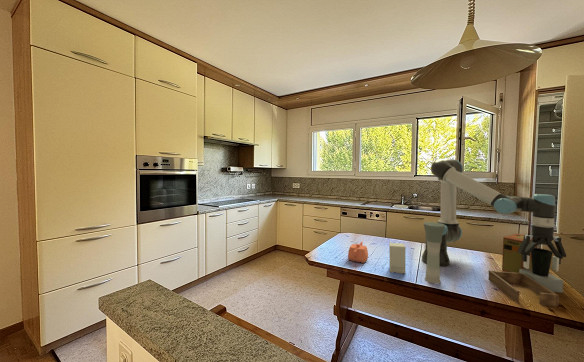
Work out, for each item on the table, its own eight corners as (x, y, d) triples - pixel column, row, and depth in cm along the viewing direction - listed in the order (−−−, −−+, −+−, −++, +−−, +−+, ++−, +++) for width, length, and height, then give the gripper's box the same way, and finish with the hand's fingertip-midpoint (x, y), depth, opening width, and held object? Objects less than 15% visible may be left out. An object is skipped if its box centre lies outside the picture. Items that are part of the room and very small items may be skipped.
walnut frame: (516, 302, 105) (516, 291, 105) (488, 279, 127) (488, 270, 126) (558, 306, 102) (559, 295, 102) (522, 282, 123) (522, 273, 123)
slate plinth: (534, 290, 116) (535, 277, 115) (518, 279, 126) (519, 268, 126) (562, 292, 113) (563, 280, 113) (544, 282, 124) (545, 270, 123)
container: (436, 286, 119) (438, 227, 118) (418, 278, 128) (419, 223, 126) (447, 282, 124) (449, 224, 122) (429, 275, 132) (430, 221, 131)
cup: (538, 270, 124) (539, 247, 123) (556, 277, 116) (557, 252, 116) (525, 271, 123) (526, 247, 123) (541, 277, 115) (542, 252, 115)
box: (522, 278, 128) (524, 241, 127) (501, 271, 136) (503, 237, 135) (535, 271, 136) (537, 237, 135) (515, 266, 144) (516, 233, 143)
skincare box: (404, 269, 139) (404, 243, 138) (405, 274, 133) (406, 247, 132) (388, 267, 142) (389, 242, 141) (389, 272, 136) (389, 245, 135)
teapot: (345, 262, 150) (345, 246, 150) (353, 253, 166) (353, 239, 165) (363, 266, 144) (363, 249, 144) (370, 256, 160) (370, 241, 159)
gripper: (519, 226, 117) (517, 269, 118) (579, 228, 112) (577, 274, 113) (509, 222, 125) (507, 263, 126) (565, 225, 119) (563, 268, 120)
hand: (540, 269), depth 119 cm, fingers open, 11 cm apart
